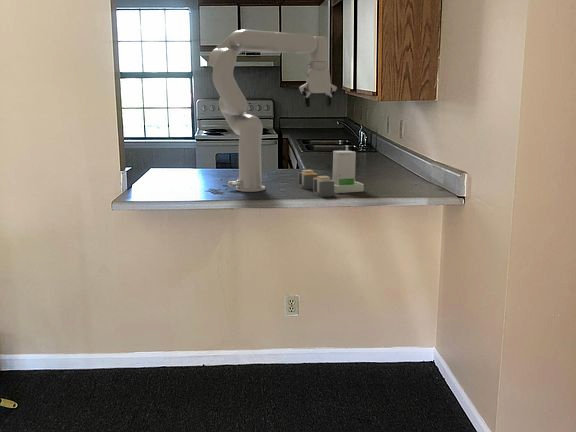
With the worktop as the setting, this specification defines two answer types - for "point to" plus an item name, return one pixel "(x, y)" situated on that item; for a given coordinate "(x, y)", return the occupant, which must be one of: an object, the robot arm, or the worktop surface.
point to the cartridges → (319, 178)
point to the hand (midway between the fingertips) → (318, 106)
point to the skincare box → (344, 167)
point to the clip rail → (311, 183)
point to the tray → (349, 188)
